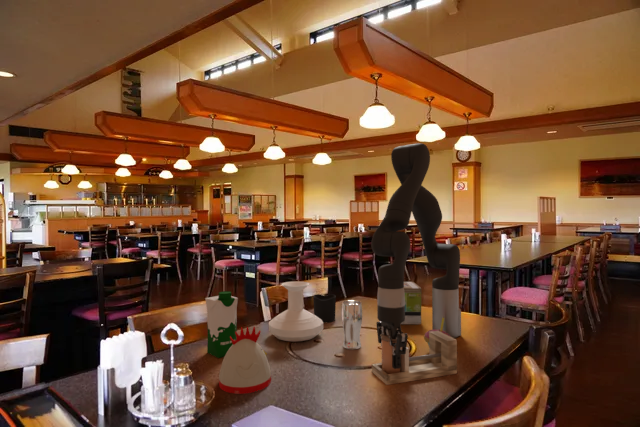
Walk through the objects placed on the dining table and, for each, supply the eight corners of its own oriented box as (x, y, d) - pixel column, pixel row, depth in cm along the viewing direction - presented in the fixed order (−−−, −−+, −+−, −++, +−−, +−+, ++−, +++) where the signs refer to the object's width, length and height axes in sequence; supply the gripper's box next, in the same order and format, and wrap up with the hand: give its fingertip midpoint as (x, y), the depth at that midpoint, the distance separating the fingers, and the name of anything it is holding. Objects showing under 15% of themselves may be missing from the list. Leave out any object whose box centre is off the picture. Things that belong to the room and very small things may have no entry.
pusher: (450, 358, 122) (449, 334, 122) (462, 365, 117) (462, 341, 117) (394, 366, 116) (394, 342, 116) (405, 374, 111) (404, 348, 111)
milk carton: (217, 359, 126) (216, 295, 126) (202, 352, 133) (202, 291, 132) (241, 352, 132) (240, 291, 132) (226, 346, 139) (225, 287, 139)
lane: (438, 362, 123) (437, 330, 123) (456, 373, 114) (456, 339, 114) (371, 371, 116) (371, 338, 116) (386, 384, 107) (386, 349, 107)
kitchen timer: (275, 389, 105) (274, 332, 105) (220, 397, 101) (219, 337, 101) (266, 369, 119) (266, 318, 119) (218, 375, 115) (217, 322, 115)
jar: (395, 366, 116) (394, 332, 116) (404, 373, 111) (404, 337, 111) (378, 368, 114) (377, 334, 114) (387, 376, 109) (386, 339, 109)
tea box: (422, 324, 162) (421, 287, 162) (396, 324, 162) (396, 287, 162) (414, 314, 177) (413, 280, 177) (390, 314, 177) (390, 281, 177)
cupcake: (451, 348, 134) (451, 312, 134) (451, 357, 126) (451, 319, 126) (425, 346, 137) (424, 310, 137) (422, 354, 129) (422, 317, 129)
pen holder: (325, 315, 177) (325, 292, 177) (340, 320, 170) (340, 296, 170) (308, 319, 170) (308, 296, 170) (324, 324, 163) (324, 299, 163)
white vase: (290, 350, 135) (290, 291, 134) (257, 336, 150) (257, 283, 149) (334, 337, 148) (334, 284, 147) (300, 325, 163) (299, 277, 162)
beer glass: (361, 350, 133) (361, 305, 133) (340, 349, 135) (339, 304, 134) (363, 343, 140) (363, 300, 140) (343, 342, 141) (342, 299, 141)
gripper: (416, 308, 107) (417, 372, 107) (390, 296, 121) (391, 353, 121) (391, 310, 105) (391, 376, 105) (367, 298, 118) (367, 357, 118)
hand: (391, 363), depth 113 cm, fingers closed on jar, 5 cm apart
